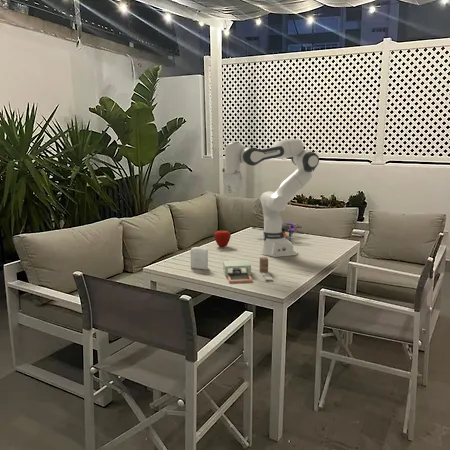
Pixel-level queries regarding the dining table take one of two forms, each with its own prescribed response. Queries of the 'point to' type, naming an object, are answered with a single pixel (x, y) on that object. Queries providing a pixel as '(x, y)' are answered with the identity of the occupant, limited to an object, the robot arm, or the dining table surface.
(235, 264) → the stand
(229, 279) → the frame
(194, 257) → the photo printer
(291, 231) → the drone
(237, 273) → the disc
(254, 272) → the dining table surface
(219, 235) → the apple
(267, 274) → the wooden handled metal tool
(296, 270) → the dining table surface
